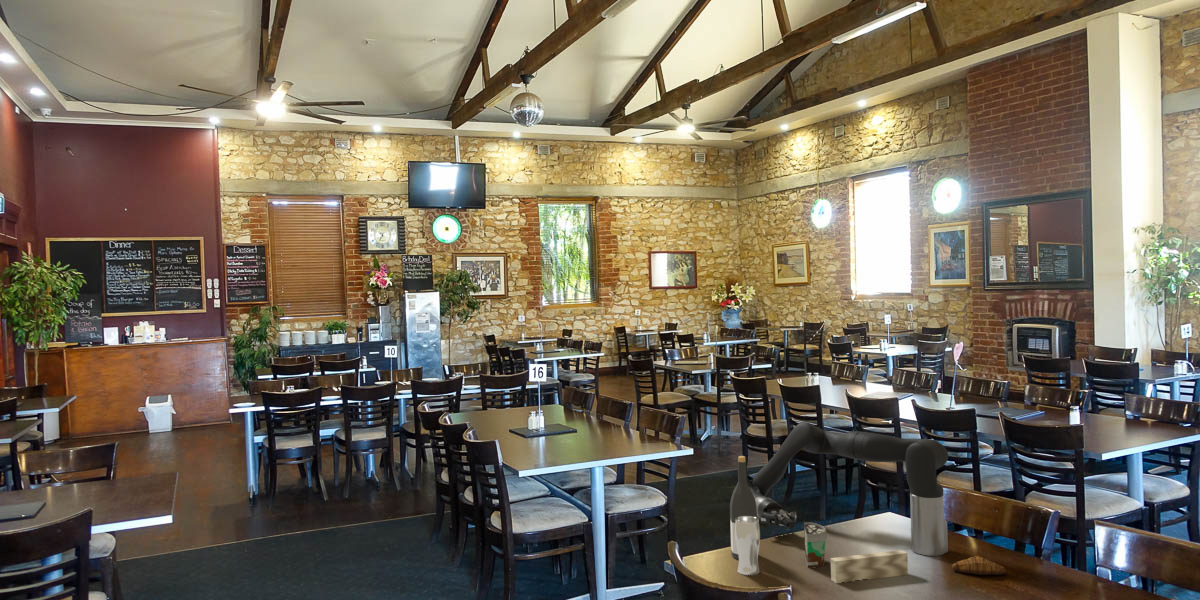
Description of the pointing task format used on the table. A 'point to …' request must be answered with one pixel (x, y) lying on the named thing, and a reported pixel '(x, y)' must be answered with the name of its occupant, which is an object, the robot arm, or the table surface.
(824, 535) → the food container
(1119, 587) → the table surface
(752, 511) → the wine bottle
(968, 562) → the croissant
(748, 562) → the beer glass
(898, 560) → the maple board
